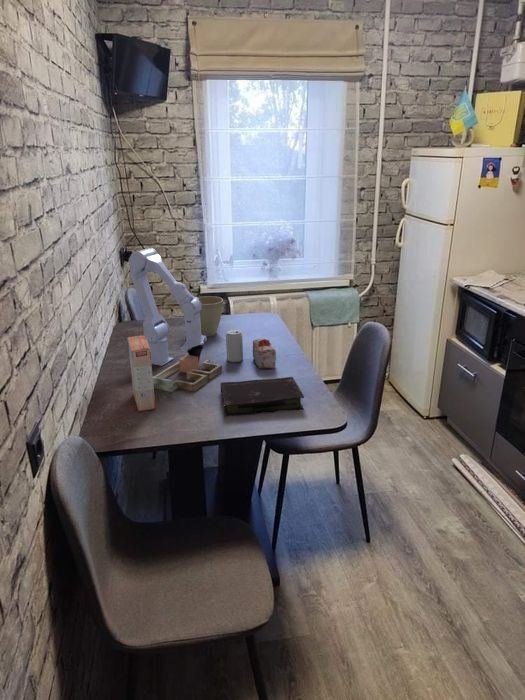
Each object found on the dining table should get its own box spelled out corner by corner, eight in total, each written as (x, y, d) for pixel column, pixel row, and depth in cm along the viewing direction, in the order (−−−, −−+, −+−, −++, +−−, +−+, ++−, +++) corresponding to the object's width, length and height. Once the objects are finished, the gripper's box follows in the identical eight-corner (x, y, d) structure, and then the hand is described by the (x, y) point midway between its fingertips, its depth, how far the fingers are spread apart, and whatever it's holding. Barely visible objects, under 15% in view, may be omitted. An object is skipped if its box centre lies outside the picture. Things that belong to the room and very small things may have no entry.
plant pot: (223, 338, 218) (221, 304, 213) (190, 339, 219) (187, 304, 213) (225, 328, 232) (224, 295, 227) (194, 328, 233) (192, 296, 227)
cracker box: (157, 409, 156) (150, 348, 149) (137, 412, 154) (130, 350, 147) (151, 391, 168) (145, 334, 161) (133, 394, 167) (126, 336, 159)
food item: (278, 369, 185) (278, 345, 182) (258, 371, 183) (257, 347, 180) (268, 356, 197) (268, 333, 194) (249, 358, 196) (248, 335, 192)
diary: (220, 394, 167) (220, 380, 166) (292, 388, 171) (292, 374, 169) (225, 419, 150) (225, 404, 148) (304, 412, 154) (305, 397, 152)
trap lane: (148, 387, 172) (147, 376, 170) (187, 362, 193) (187, 352, 191) (188, 395, 165) (187, 384, 163) (225, 369, 186) (224, 359, 184)
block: (180, 371, 184) (179, 359, 183) (187, 366, 188) (187, 354, 187) (191, 373, 182) (190, 361, 180) (198, 368, 186) (198, 356, 185)
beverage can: (240, 363, 191) (239, 334, 186) (225, 362, 192) (223, 333, 188) (244, 357, 196) (243, 329, 192) (229, 356, 198) (228, 328, 193)
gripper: (191, 337, 176) (194, 372, 181) (212, 326, 188) (214, 358, 193) (175, 335, 179) (178, 369, 184) (196, 323, 191) (198, 356, 196)
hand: (195, 363), depth 189 cm, fingers closed
